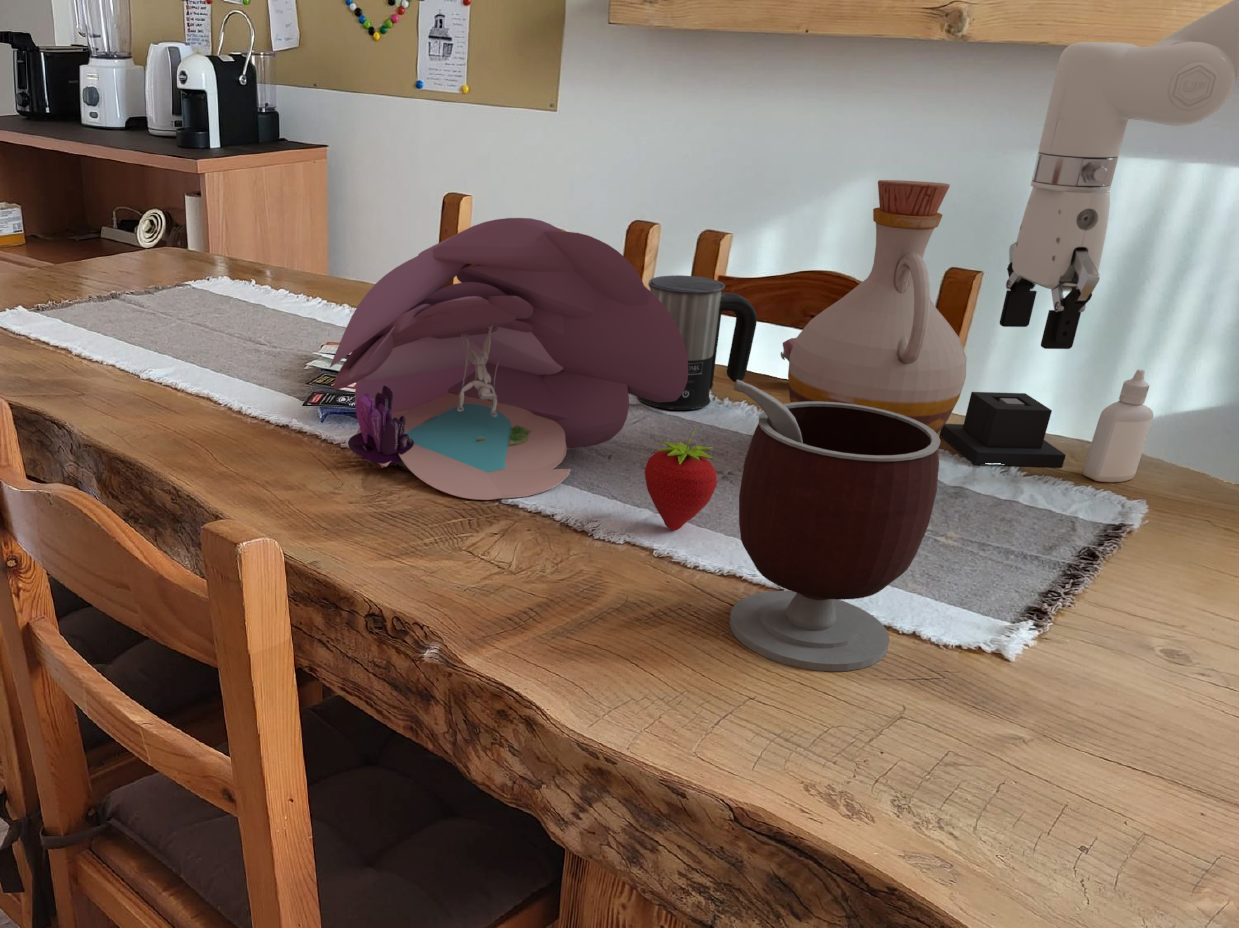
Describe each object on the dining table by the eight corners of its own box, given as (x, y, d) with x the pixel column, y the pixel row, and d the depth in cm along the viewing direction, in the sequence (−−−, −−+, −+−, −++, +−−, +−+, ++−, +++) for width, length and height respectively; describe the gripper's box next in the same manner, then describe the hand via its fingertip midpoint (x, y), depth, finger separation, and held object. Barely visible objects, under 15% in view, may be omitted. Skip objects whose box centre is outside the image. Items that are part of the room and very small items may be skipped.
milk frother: (661, 415, 142) (676, 292, 136) (594, 379, 155) (605, 265, 148) (755, 404, 148) (774, 285, 141) (683, 370, 161) (698, 260, 154)
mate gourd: (883, 603, 98) (936, 371, 89) (913, 686, 86) (978, 428, 77) (697, 583, 101) (730, 355, 92) (700, 662, 88) (739, 408, 79)
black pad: (1015, 430, 137) (1025, 393, 135) (1041, 448, 132) (1052, 410, 130) (962, 428, 137) (971, 391, 135) (986, 447, 131) (995, 408, 129)
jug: (971, 506, 119) (1051, 199, 106) (796, 498, 119) (853, 191, 106) (910, 442, 137) (972, 172, 123) (758, 435, 137) (802, 164, 123)
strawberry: (670, 510, 115) (683, 412, 111) (723, 537, 110) (739, 436, 105) (623, 520, 112) (635, 421, 108) (676, 549, 107) (690, 446, 102)
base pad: (1021, 437, 140) (1034, 389, 137) (1062, 467, 131) (1077, 416, 128) (939, 435, 139) (950, 386, 137) (975, 465, 130) (988, 413, 128)
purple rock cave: (388, 566, 113) (393, 293, 95) (289, 447, 128) (277, 192, 110) (674, 478, 127) (726, 226, 109) (554, 380, 142) (582, 145, 124)
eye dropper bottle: (1141, 487, 126) (1176, 378, 121) (1085, 481, 127) (1118, 373, 122) (1129, 473, 130) (1162, 367, 124) (1075, 467, 131) (1106, 362, 125)
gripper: (1156, 184, 114) (1109, 358, 121) (1067, 164, 129) (1030, 319, 137) (1080, 183, 113) (1037, 357, 121) (1000, 163, 129) (967, 318, 136)
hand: (1034, 336), depth 129 cm, fingers open, 9 cm apart
